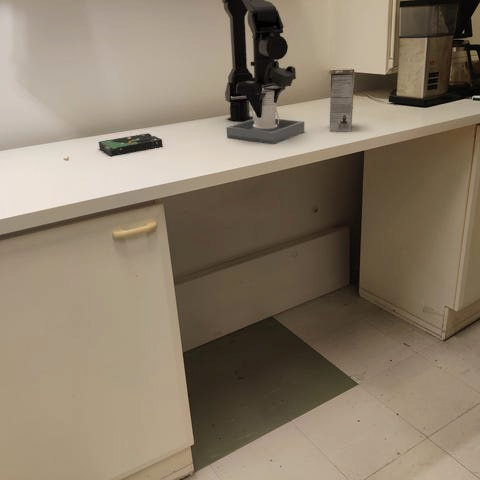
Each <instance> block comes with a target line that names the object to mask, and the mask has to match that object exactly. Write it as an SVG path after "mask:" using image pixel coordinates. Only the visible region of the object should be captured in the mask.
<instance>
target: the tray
mask: <svg viewBox="0 0 480 480" xmlns="http://www.w3.org/2000/svg"><path fill="white" fill-rule="evenodd" d="M253 124H254V120H253V118H251V119H248V120H245V121H241V122H239V123H235V124H232V125H229V126H227V127H226V138H227V139H232V140H241V141H247V142H254V143H255V142H256V143H262V144H270V145H274V144H278V143H280V142H283V141H285V140H287V139H290V138H292V137H295V136H297V135H300V134H303V133H305V121H302V120H290V119H284V118H283V119H282V118H279V124H278V118H276V122H275V124H277V127H276V128H271V129H260V128H255V127H253Z"/></svg>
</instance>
